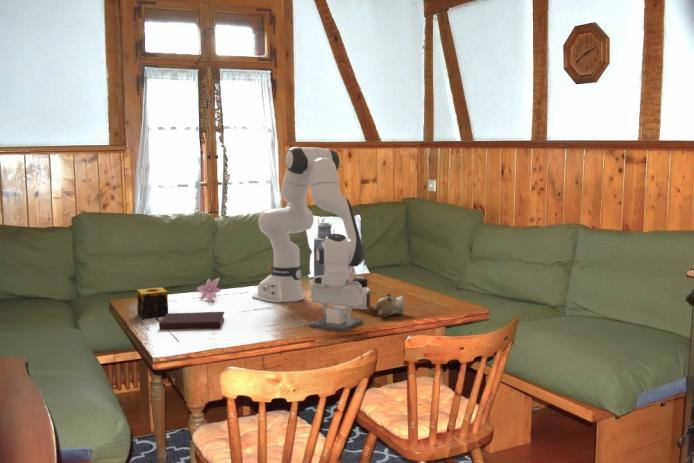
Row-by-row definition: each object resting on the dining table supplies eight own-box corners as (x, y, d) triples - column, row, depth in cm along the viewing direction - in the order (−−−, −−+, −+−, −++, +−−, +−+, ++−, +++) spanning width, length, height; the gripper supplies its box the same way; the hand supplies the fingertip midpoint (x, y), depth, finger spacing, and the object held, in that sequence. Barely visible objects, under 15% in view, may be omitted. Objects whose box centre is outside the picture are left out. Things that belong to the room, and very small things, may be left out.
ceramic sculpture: (411, 293, 265) (376, 300, 259) (412, 315, 266) (378, 322, 260) (396, 288, 275) (363, 295, 268) (398, 310, 276) (364, 316, 269)
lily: (196, 299, 301) (191, 284, 296) (218, 287, 306) (213, 272, 301) (208, 311, 293) (202, 296, 288) (230, 299, 298) (225, 283, 293)
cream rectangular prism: (326, 322, 253) (326, 308, 252) (333, 318, 258) (333, 305, 257) (339, 324, 250) (339, 309, 250) (346, 320, 255) (346, 306, 254)
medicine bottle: (367, 309, 277) (367, 280, 275) (349, 309, 278) (349, 279, 277) (370, 305, 284) (370, 276, 282) (352, 305, 285) (352, 276, 284)
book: (220, 330, 249) (220, 320, 249) (159, 331, 248) (158, 321, 248) (224, 320, 263) (224, 311, 263) (166, 321, 262) (166, 312, 261)
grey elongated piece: (309, 287, 321) (309, 222, 317) (325, 284, 328) (325, 220, 324) (323, 290, 314) (322, 224, 311) (339, 287, 321) (339, 222, 317)
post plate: (310, 326, 251) (310, 314, 251) (329, 318, 264) (329, 306, 263) (344, 331, 245) (344, 318, 244) (362, 322, 257) (362, 310, 256)
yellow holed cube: (142, 320, 262) (140, 294, 261) (136, 314, 271) (135, 289, 270) (169, 316, 267) (168, 291, 266) (163, 311, 276) (162, 286, 275)
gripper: (366, 280, 250) (366, 317, 252) (317, 275, 260) (317, 311, 261) (357, 283, 244) (358, 321, 246) (308, 278, 254) (308, 315, 256)
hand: (336, 316), depth 254 cm, fingers open, 7 cm apart
